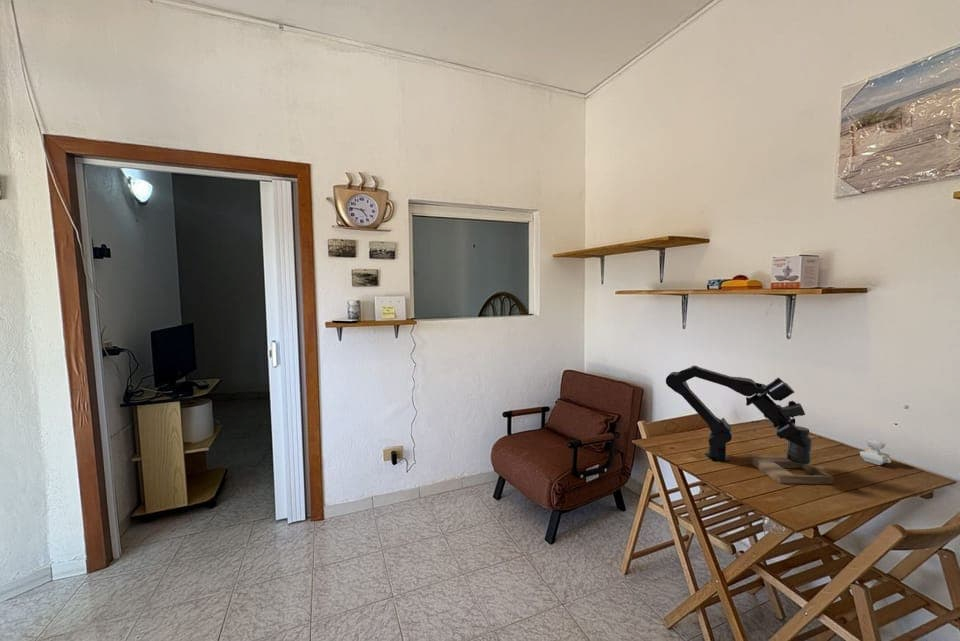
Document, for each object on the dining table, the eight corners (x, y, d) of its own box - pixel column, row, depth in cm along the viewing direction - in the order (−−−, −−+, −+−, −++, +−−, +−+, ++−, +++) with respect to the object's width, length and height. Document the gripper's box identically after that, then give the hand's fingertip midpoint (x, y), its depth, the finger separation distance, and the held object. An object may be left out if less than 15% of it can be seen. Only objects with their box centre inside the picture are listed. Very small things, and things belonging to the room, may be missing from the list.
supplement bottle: (814, 465, 139) (817, 432, 137) (791, 463, 141) (794, 430, 139) (804, 457, 145) (807, 425, 144) (782, 455, 147) (785, 424, 146)
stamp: (894, 465, 150) (896, 444, 149) (886, 469, 147) (888, 447, 146) (863, 456, 158) (864, 436, 157) (855, 459, 155) (857, 439, 154)
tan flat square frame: (748, 461, 154) (748, 455, 154) (795, 461, 153) (796, 455, 153) (779, 483, 137) (780, 476, 137) (833, 483, 137) (833, 476, 136)
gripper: (791, 402, 135) (831, 440, 130) (787, 389, 151) (822, 423, 145) (761, 419, 140) (798, 457, 135) (760, 406, 156) (793, 439, 151)
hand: (804, 443), depth 141 cm, fingers closed on supplement bottle, 7 cm apart
